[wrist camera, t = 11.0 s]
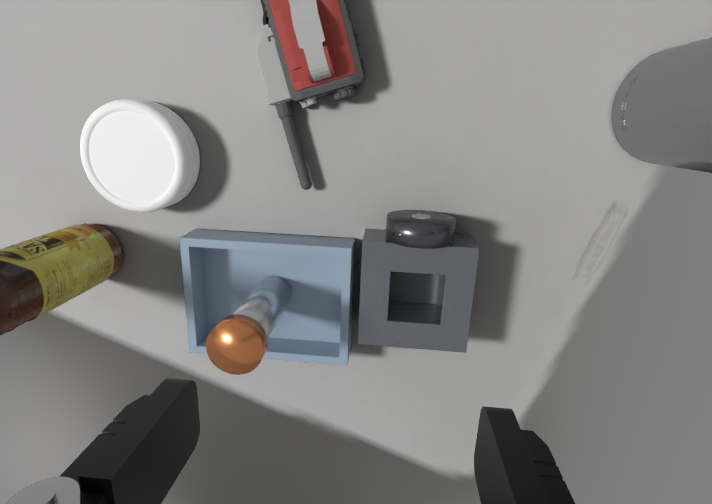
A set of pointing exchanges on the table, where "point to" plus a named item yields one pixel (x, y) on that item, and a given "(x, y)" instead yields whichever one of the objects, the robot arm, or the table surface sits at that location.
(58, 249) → the sauce bottle
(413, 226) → the block
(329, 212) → the table surface
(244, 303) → the lock pin
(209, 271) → the tray
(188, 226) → the table surface
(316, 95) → the walkie-talkie
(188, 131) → the white round disc stack
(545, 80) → the table surface
